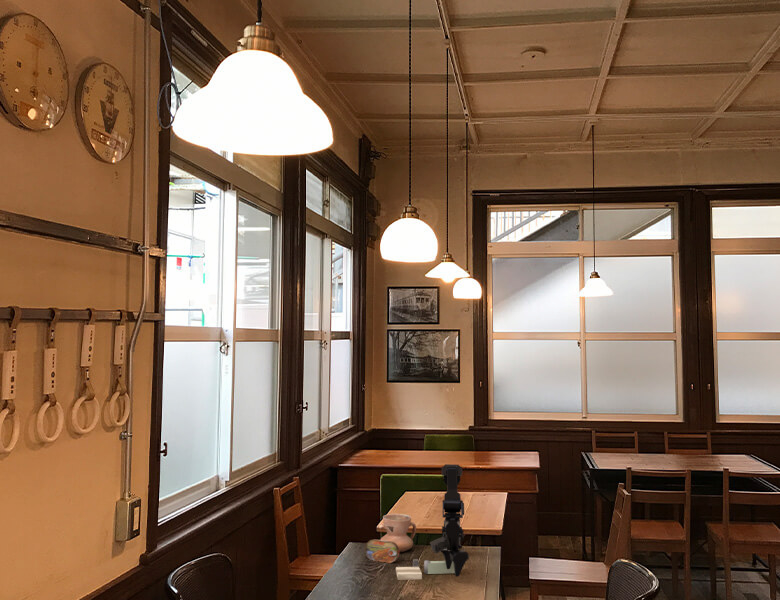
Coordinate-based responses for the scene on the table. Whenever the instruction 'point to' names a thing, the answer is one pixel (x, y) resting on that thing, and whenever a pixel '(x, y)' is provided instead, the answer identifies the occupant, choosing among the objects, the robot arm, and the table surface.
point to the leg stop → (415, 563)
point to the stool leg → (437, 567)
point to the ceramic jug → (398, 530)
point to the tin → (382, 551)
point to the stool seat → (408, 573)
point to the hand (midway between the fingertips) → (452, 572)
